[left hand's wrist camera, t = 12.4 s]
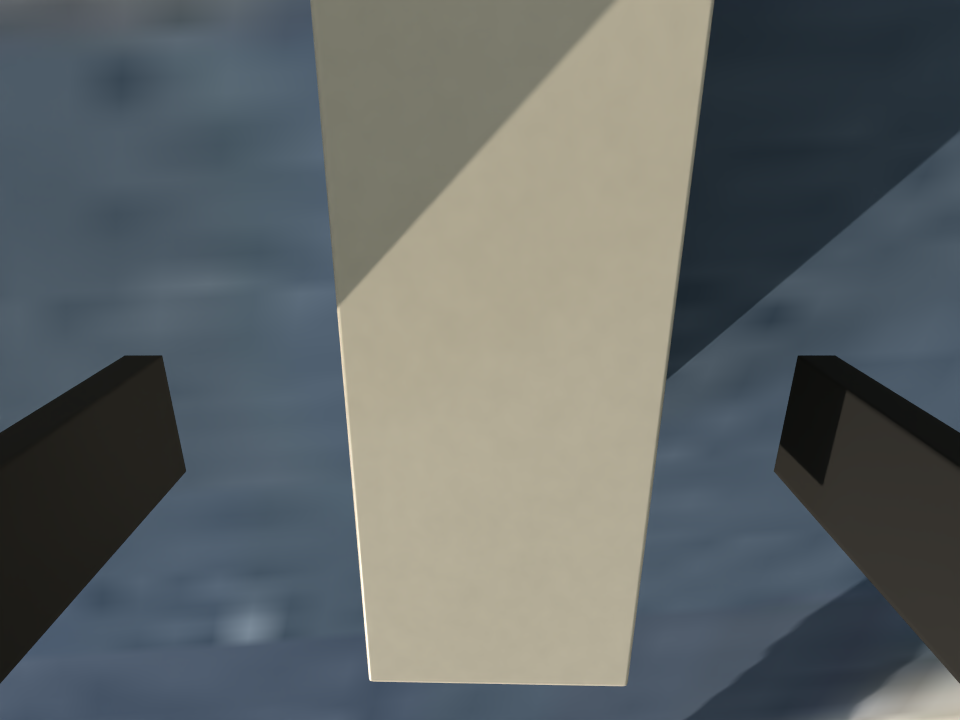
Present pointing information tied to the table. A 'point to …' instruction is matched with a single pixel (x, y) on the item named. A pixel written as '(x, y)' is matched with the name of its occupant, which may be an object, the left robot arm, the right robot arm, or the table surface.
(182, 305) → the table surface
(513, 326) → the bar
